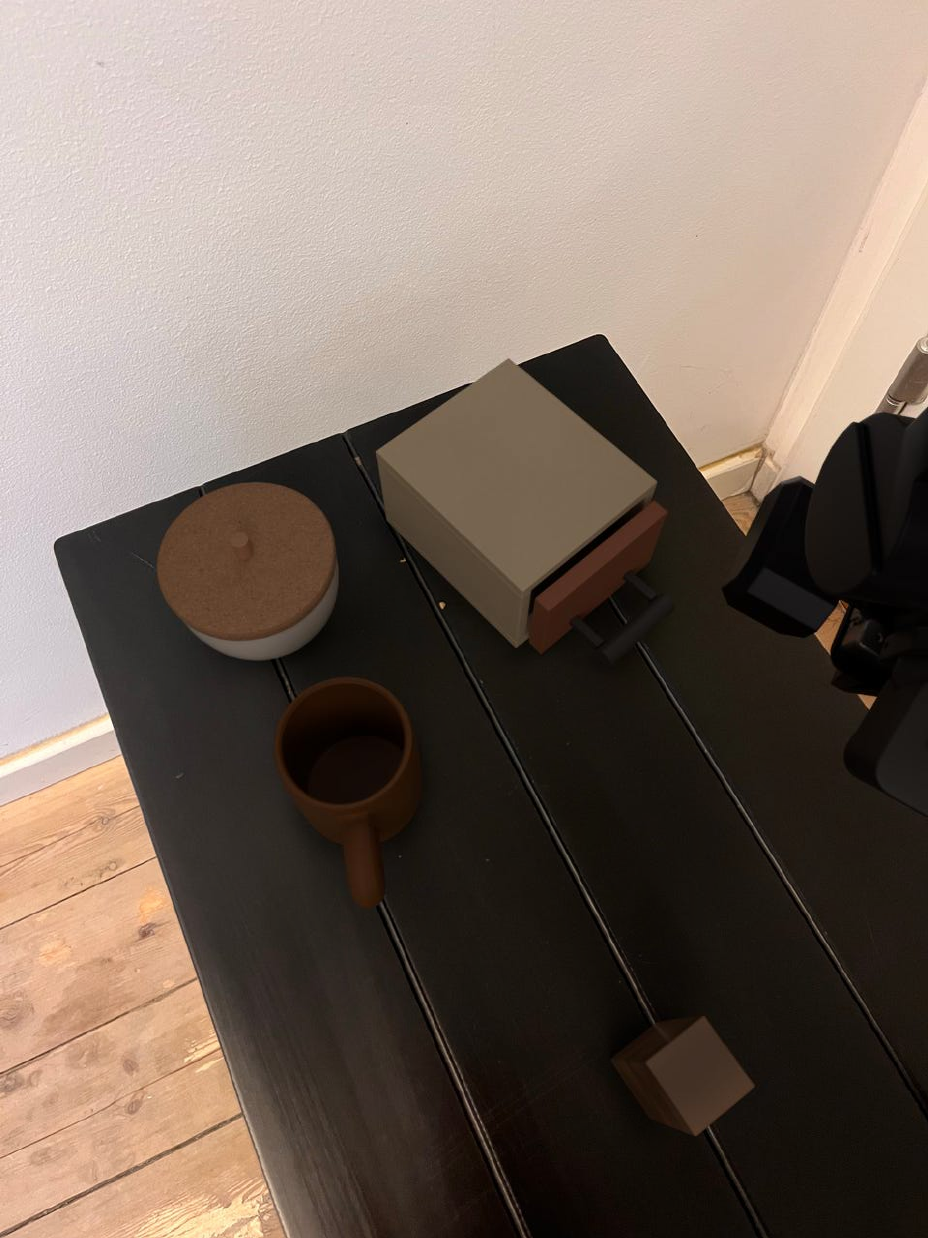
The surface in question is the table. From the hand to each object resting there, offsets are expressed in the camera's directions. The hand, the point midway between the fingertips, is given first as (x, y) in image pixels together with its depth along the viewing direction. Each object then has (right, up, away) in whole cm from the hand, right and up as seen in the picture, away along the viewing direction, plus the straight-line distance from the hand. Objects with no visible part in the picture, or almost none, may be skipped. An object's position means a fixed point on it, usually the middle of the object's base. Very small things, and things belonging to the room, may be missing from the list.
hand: (839, 680), depth 45 cm
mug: (-25, -9, +8) cm, 28 cm away
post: (-9, -21, +2) cm, 23 cm away
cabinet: (-16, +9, +17) cm, 25 cm away
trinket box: (-33, +4, +14) cm, 36 cm away
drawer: (-13, +7, +15) cm, 21 cm away
